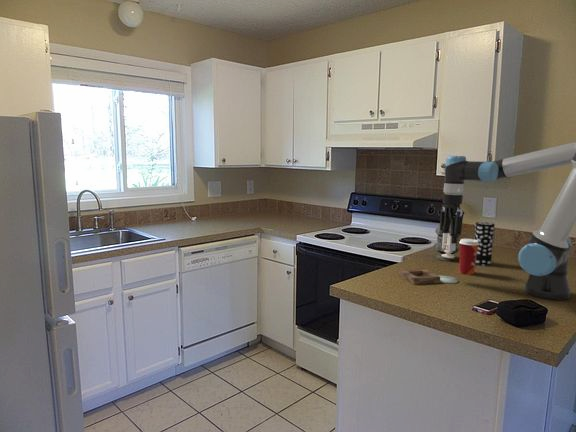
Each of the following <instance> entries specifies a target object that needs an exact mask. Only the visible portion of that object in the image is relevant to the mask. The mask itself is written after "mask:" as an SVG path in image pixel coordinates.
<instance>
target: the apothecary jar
mask: <svg viewBox="0 0 576 432" xmlns="http://www.w3.org/2000/svg"><path fill="white" fill-rule="evenodd" d="M442 228H443V227H442ZM449 231H450V234H451V223H450V228H449ZM435 233H436V235H437V239H436V243H435V244H434V245H433V249H434V250H435V251H436V252H437V253H440V254H439V255H435V257H434V258H435V259H436V260H440V261H446V262H449V261H450V262H452V261H457V260H456V256H455V257H454V258H444V257H442V256H441V255H442V254H446V252H444V250H446V248H444V249H443V248H442V241H443V239H442V238H443V232H442V230H440V224H439V226H438V227H437V228H435ZM459 236H460V235H457V238H458V237H459ZM458 252H460V246H458V240H457V241H456V247H455V251H452V253H451V255H454V254H457V253H458Z"/></svg>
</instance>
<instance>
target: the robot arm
mask: <svg viewBox="0 0 576 432" xmlns="http://www.w3.org/2000/svg"><path fill="white" fill-rule="evenodd" d="M445 160H446V161H445V167H444V168H445V169H444V181H443V182H444V183H443V191H442V192H443V195H442V203H444V206H442V207H441V206H440V207H439V209H440V211H439V212H440V213H439V214H440V216H439V217H440V218H439V225H440V230H442V232H443V238H442V239H443V241H442V248H443V249H444V248H446V245H445V244H444V243H447V238H448V233H450V231H449V228H450V223H451V234H449V235H450V236H449V248H448V251H455V247H456V241H457V242H458V237H457V235H459V236H460V235H462V230H463V229H462V227H463V219H464V215H465V211H464V210H461V207H460V206H461V204H463V200H464V197H463V193H464V187H465V186H464V184H465V181H476V182H484V183H485V182H494V181H497V180H498V181H499V180H500V179H503V178H508V177H514V176H518V175H524V174H528V173H529V174H530V173H534V172H539V171H545V170H549V169H555V168H560V167H563V166H564V167H565V166H569V165H573V166H572V169H571V171H570V172H569V175H568V177H567V179H566V181H565V182H564V185H563V186H562V188H561V189H560V191H559V194H558V195H557V198H556V199H555V200H554V203H553V204H552V206H551V208H550V210H549V212H548V214H547V216H546V218H545V220H544V221H543V223H542V225H541V227H540V229H538V230H534V231H532V234H531V236H530V237H529V239H528V241H527V243H526V244H525V245H524V246H522V247H521V249H520V250H519V252H518V255H517V257H518V263H519V266H520V267H521V269H523V270H524V272H526V273H528V274H529V276H528V278H527V281H526V282H525V283H524V288H523V289H524V292H526V293H527V294H529V295H532V296H535V297H538V298H543V299H547V300H548V299H549V300H558V301H561V300H569V299H570V298H571V293H572V292H571V291H572V290H571V289H570V287H569V286H570V285H569V281H568V271H569V270H568V269H569V262H570V256H571V255H570V253H571V248H572V241H571V240H572V239H571V238H570V237H569V236H570V235H571V233H572V231H573V230H574V228H575V226H576V141H575V142H571V143H565V144H561V145H557V146H552V147H548V148H544V149H540V150H536V151H531V152H526V153H523V154H518V155H514V156H510V157H507V158H505V157H504V158H501V159H496V160H493V161H492V160H490V161H476V160H475V161H474V160H473V161H471V160H467V157H466V156H464V155H447V157H446V159H445ZM442 227H443V228H442Z"/></svg>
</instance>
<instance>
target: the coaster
mask: <svg viewBox="0 0 576 432" xmlns="http://www.w3.org/2000/svg"><path fill="white" fill-rule="evenodd" d="M438 276H439V277H440V283H442V284H443V283H444V284H456V283H458V282H459V279H458V278H456V277H455V276H449V275H438Z"/></svg>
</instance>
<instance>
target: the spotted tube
mask: <svg viewBox="0 0 576 432" xmlns="http://www.w3.org/2000/svg"><path fill="white" fill-rule="evenodd" d="M495 225H496V224H495V223H493V222H485V221H478V222H475V224H474V226H475V227H474V238H473V239H474V240H477V241H478V243H479V245H478V250H477V256H476V263H475V266H482V267H489V266H491V265H492V258H493V257H492V256H493V246H494V235H495Z"/></svg>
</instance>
